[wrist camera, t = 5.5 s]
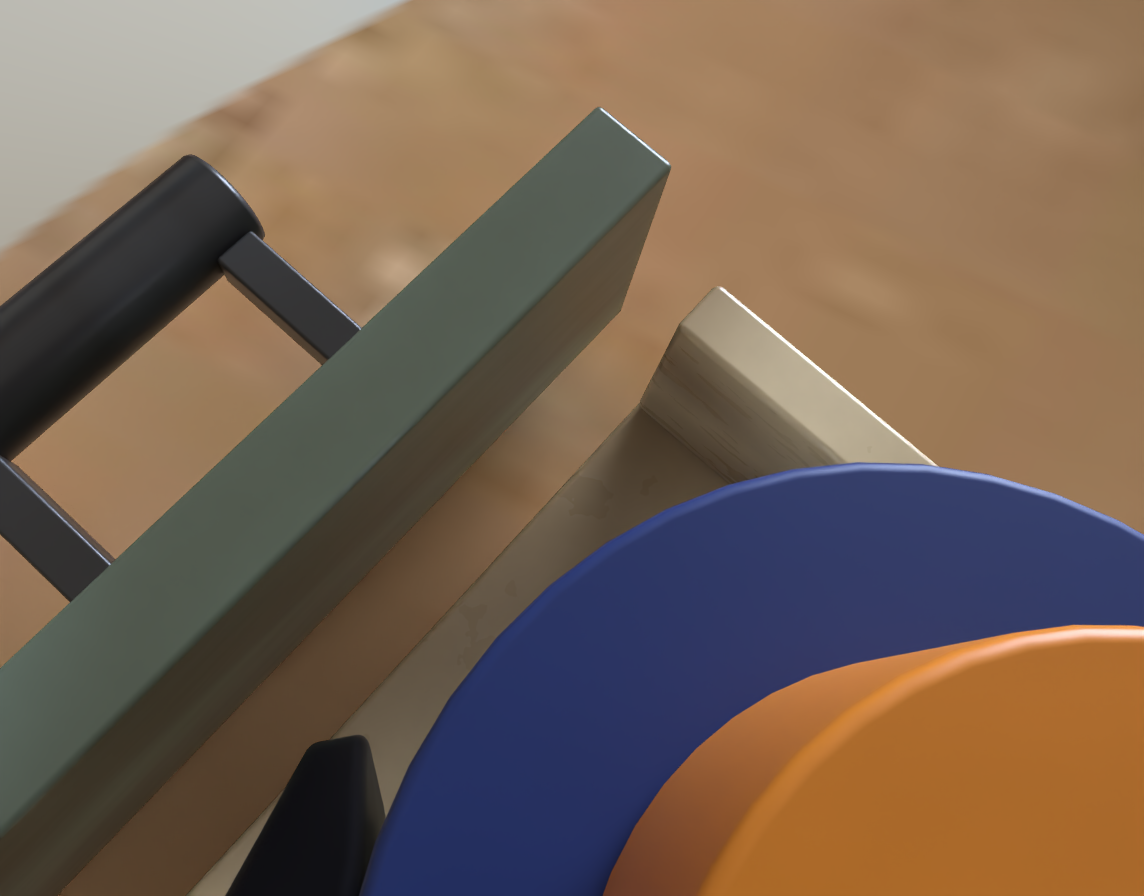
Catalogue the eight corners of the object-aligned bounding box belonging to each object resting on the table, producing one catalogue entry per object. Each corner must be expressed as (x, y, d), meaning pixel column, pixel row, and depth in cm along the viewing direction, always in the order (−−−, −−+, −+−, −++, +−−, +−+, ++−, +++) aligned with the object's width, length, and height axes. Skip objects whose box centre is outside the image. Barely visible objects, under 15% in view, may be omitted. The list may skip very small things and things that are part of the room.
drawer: (-247, 663, 13) (-568, 633, 9) (389, 112, 16) (362, -92, 12) (700, 1645, 11) (830, 2157, 7) (1205, 802, 14) (1490, 829, 10)
